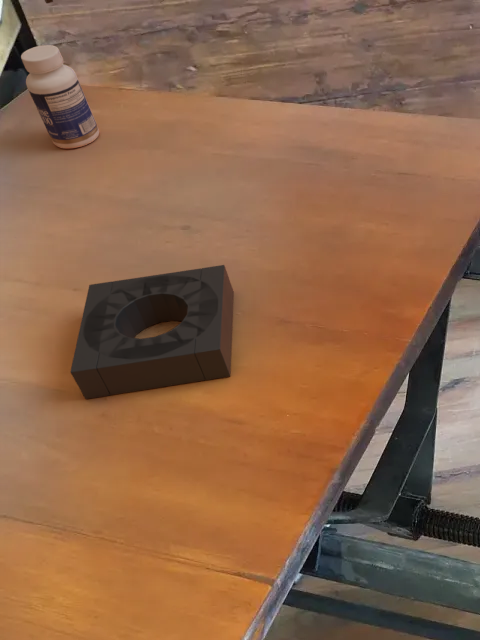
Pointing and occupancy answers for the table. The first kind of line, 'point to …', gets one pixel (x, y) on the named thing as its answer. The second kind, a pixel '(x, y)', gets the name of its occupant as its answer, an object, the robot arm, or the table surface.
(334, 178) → the table surface
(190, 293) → the socket plate
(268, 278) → the table surface
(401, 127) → the table surface
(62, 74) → the pill bottle
